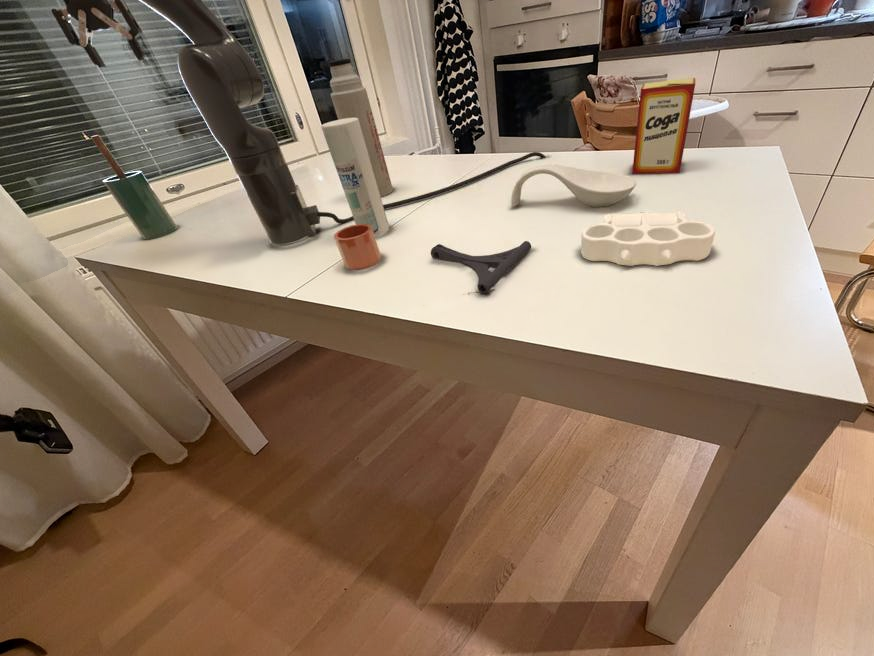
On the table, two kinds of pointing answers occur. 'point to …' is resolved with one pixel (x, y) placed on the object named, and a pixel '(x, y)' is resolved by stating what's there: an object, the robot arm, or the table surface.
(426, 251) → the table surface
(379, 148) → the thermos bottle
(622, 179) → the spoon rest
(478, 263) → the bracket
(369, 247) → the holder
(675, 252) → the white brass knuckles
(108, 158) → the long wooden handle
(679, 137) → the baking soda box
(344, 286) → the table surface
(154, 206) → the cup
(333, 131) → the spray can
